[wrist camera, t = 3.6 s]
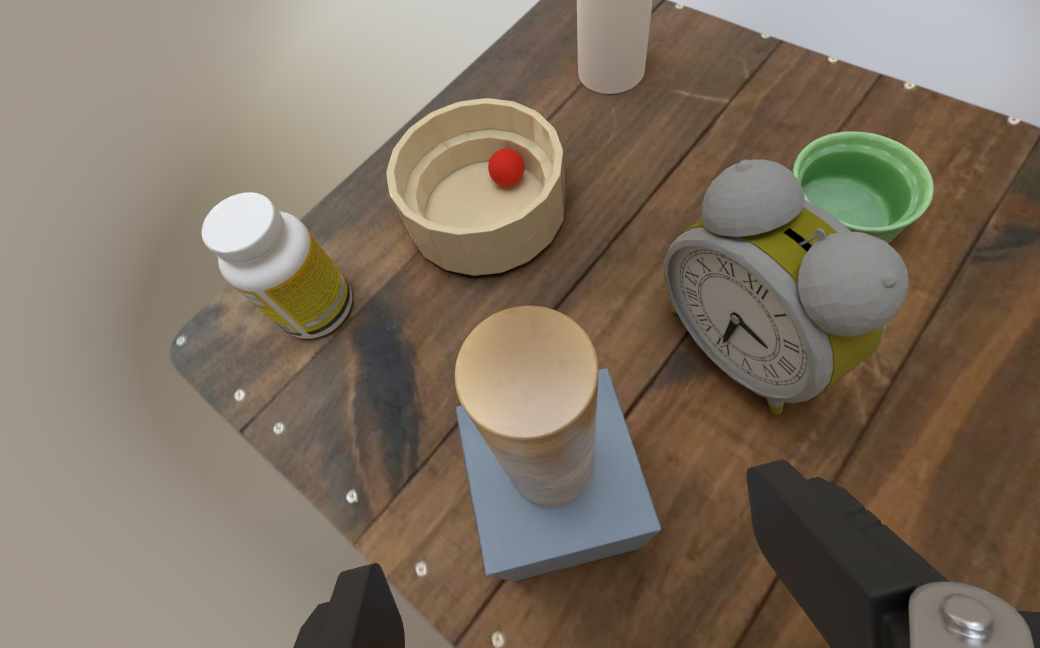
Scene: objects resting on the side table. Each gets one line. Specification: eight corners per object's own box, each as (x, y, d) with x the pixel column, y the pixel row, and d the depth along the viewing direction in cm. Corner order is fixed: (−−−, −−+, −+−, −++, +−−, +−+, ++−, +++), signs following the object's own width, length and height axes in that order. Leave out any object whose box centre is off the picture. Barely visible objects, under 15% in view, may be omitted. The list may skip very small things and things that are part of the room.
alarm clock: (648, 312, 40) (679, 167, 26) (718, 263, 41) (781, 101, 27) (769, 438, 35) (884, 339, 21) (845, 378, 36) (997, 248, 22)
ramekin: (872, 164, 43) (900, 121, 39) (922, 256, 39) (959, 219, 35) (759, 181, 44) (776, 141, 40) (797, 274, 40) (820, 239, 36)
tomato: (495, 197, 45) (489, 172, 43) (488, 171, 47) (482, 145, 44) (529, 188, 45) (526, 163, 43) (521, 163, 47) (517, 136, 44)
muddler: (519, 517, 24) (468, 457, 14) (501, 434, 26) (443, 324, 16) (604, 495, 25) (617, 418, 14) (580, 413, 26) (575, 289, 16)
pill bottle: (358, 269, 44) (293, 176, 34) (351, 337, 41) (277, 256, 32) (285, 277, 45) (200, 187, 35) (274, 345, 42) (178, 267, 32)
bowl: (422, 297, 42) (398, 254, 37) (401, 174, 48) (378, 121, 43) (584, 255, 42) (584, 207, 37) (543, 137, 49) (537, 81, 43)
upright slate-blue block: (513, 581, 32) (485, 576, 24) (487, 453, 36) (454, 406, 27) (641, 548, 32) (662, 530, 24) (602, 423, 36) (607, 367, 27)
